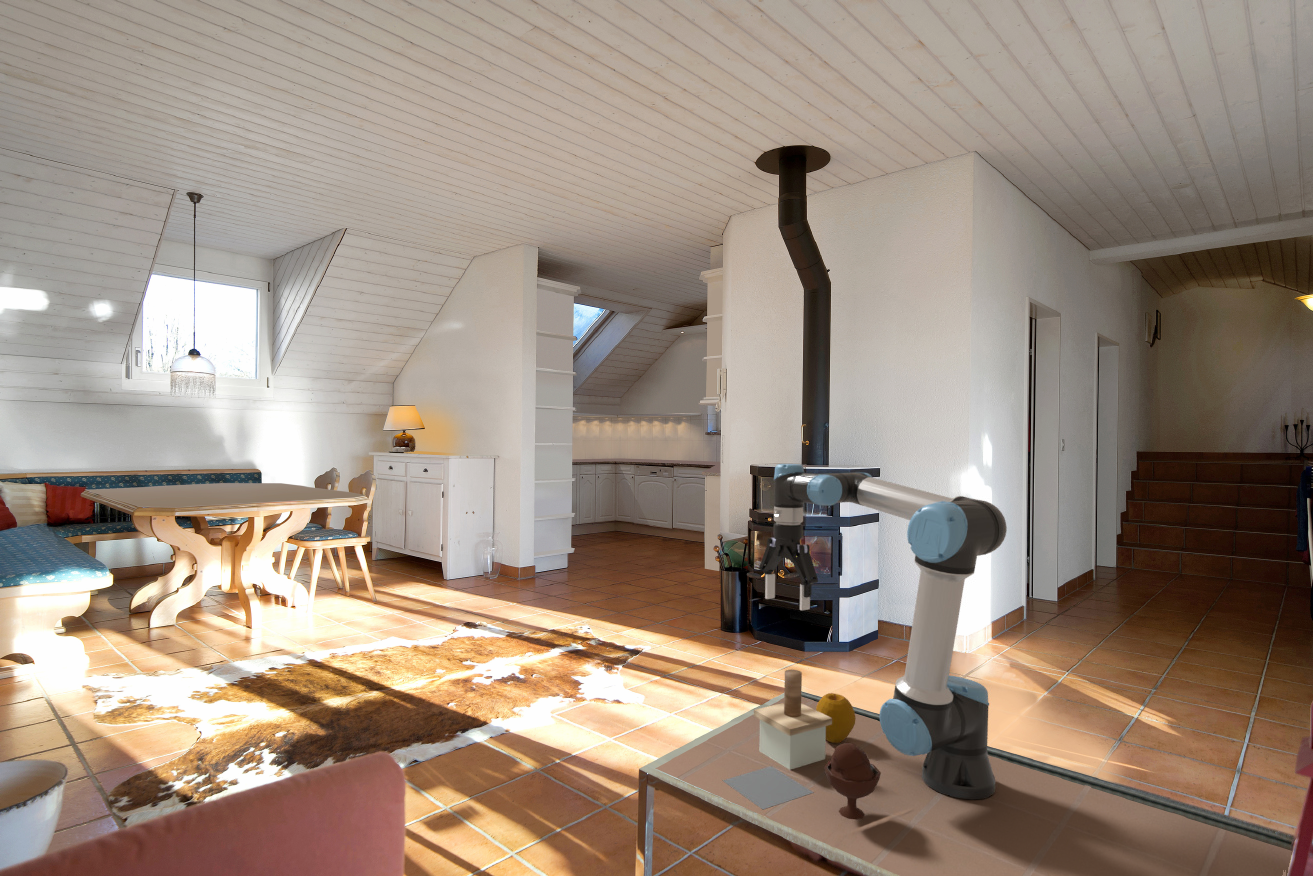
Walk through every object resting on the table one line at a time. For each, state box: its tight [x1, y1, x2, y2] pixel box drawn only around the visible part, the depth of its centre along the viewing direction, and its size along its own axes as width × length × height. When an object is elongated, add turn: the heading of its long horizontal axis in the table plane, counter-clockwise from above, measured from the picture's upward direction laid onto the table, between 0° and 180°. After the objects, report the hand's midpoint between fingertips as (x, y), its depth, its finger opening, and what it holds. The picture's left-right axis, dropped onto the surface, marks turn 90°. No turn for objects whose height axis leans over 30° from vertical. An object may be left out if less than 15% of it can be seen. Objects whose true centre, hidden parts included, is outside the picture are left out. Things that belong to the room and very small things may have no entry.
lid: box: [753, 669, 832, 736], centre depth 175 cm, size 13×13×12 cm
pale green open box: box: [758, 719, 827, 771], centre depth 175 cm, size 11×11×9 cm
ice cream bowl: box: [823, 742, 882, 821], centre depth 149 cm, size 11×11×15 cm
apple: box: [815, 692, 856, 744], centre depth 185 cm, size 10×10×12 cm
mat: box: [722, 765, 815, 810], centre depth 160 cm, size 14×14×1 cm
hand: (786, 603), depth 192 cm, fingers open, 13 cm apart
